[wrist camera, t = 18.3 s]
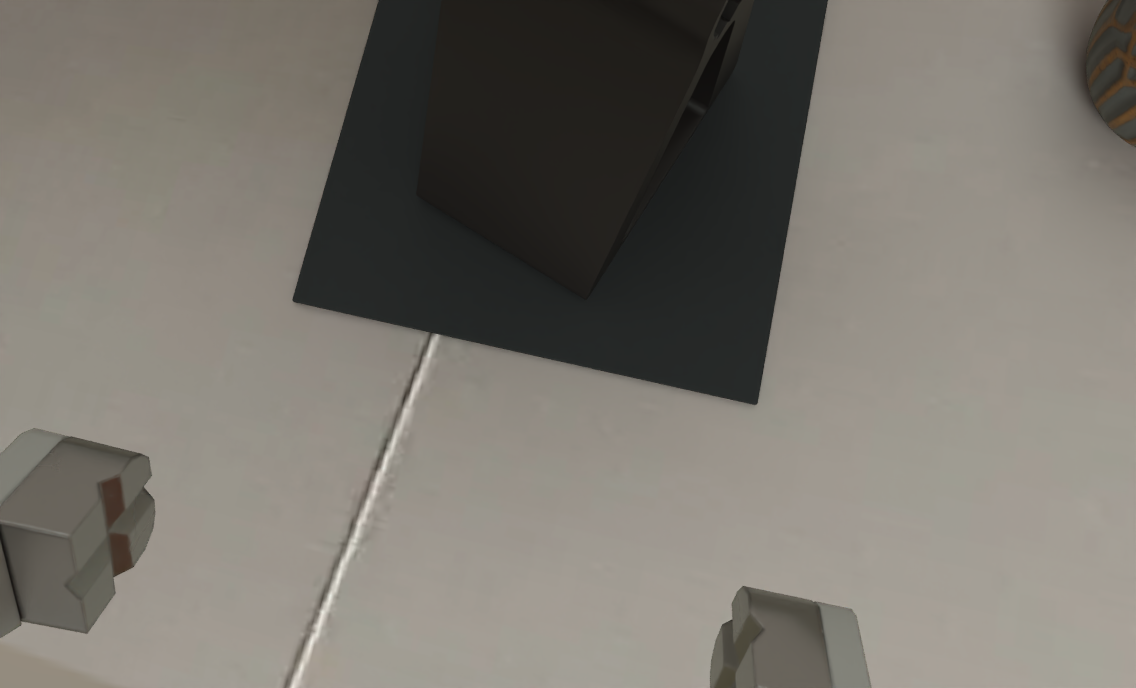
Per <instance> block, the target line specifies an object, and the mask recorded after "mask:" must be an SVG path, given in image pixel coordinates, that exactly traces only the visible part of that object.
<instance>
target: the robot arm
mask: <svg viewBox="0 0 1136 688" xmlns="http://www.w3.org/2000/svg"><path fill="white" fill-rule="evenodd" d="M151 476H152V473H151V467H150V461H149V457H147V456H145V455H143V454H140V453H136V452H132V451H128V450H124V449H120V448H116V447H112V446H108V445H104V444H100V443H96V442H92V441H88V440H84V439H80V438H75V437H69V436H65V435H61V434H57V433H53V432H49V431H45V430H40V429H36V428H33V429H31V430H28V431H26V432H24V433H22V434H20V435H19V436H18V437H17V438H16V439H15V440H14V441H13V442H12V443H11V444H10V445H9V446H8V447H7V448H6V449H5V450H4V451H3V452H2V453H1V454H0V638H1V637H3V636H5V635H6V634H8V633H10V632H11V631H13V630H14V629H16V628H18V627H19V626H21V621H23V622H28V623H33V624H38V625H44V626H49V627H54V628H60V629H65V630H70V631H75V632H81V633H86V634H87V633H88V632H89V631H90V629H91V628H92V626H93V625H94V623H95V622H96V621H97V619H98V618H99V616H100V615H101V613H102V612H103V611H104V609H105V608H106V606H107V605H108V603H109V602H110V600H111V599H112V598H113V596H114V595H115V585H114V578H113V577H115V576H117V575H119V574H121V573H123V572H125V571H127V570H129V569H131V568H133V567H134V566H135V564H136V563H137V561H138V560H139V558H140V557H141V555H142V554H143V552H144V551H145V549H146V546H147V543H148V541H149V538H150V536H151V533H152V531H153V527H154V520H155V502H154V499H153V497H152V496H151V495H150V494H149V493H148V492H147V490H146V489H145V488H144V485H145V484H146V483H147V481H148V480H149V479H150V477H151ZM710 688H872V687H871V683H870V678H869V673H868V668H867V664H866V659H865V654H864V649H863V645H862V640H861V635H860V630H859V626H858V621H857V616H856V615H855V613H854V612H853V610H852V609H849V608H844V607H839V606H835V605H830V604H825V603H821V602H813V601H812V600H808V599H803V598H798V597H793V596H789V595H784V594H779V593H774V592H770V591H765V590H760V589H755V588H750V587H746V586H742V587H741V588H740V589H739V590H738V591H737V594H736V596H735V598H734V600H733V602H732V620H730V621H728V622H726V623H724V624H722V626H721V629H720V631H719V634H718V636H717V638H716V641H715V645H714V650H713V654H712V659H711V669H710Z"/></svg>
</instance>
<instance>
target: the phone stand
mask: <svg viewBox="0 0 1136 688" xmlns="http://www.w3.org/2000/svg"><path fill="white" fill-rule="evenodd" d="M753 3H754V0H441V8H440V15H439V23H438V31H437V38H436V46H435V54H434V61H433V69H432V76H431V84H430V92H429V99H428V107H427V115H426V122H425V130H424V138H423V145H422V153H421V161H420V168H419V176H418V184H417V191H416V195H417V196H418V197H420V198H421V199H423V200H425V201H426V202H428V203H429V204H431V205H433V206H434V207H436V208H437V209H439V210H441V211H442V212H444V213H446V214H447V215H449V216H450V217H452V218H454V219H455V220H457V221H459V222H460V223H462V224H463V225H465V226H467V227H468V228H470V229H471V230H473V231H475V232H476V233H478V234H480V235H481V236H483V237H484V238H486V239H488V240H489V241H491V242H492V243H494V244H496V245H497V246H499V247H501V248H502V249H504V250H505V251H507V252H509V253H510V254H512V255H514V256H515V257H517V258H518V259H520V260H522V261H523V262H525V263H526V264H528V265H530V266H531V267H533V268H535V269H536V270H538V271H539V272H541V273H543V274H544V275H546V276H548V277H549V278H551V279H552V280H554V281H556V282H557V283H559V284H560V285H562V286H564V287H565V288H567V289H569V290H570V291H572V292H573V293H575V294H577V295H578V296H580V297H581V298H583V299H585V300H587V298H588V297H589V296H590V294H591V293H592V291H593V289H594V288H595V286H596V285H597V283H598V282H599V280H600V278H601V277H602V275H603V274H604V272H605V271H606V269H607V268H608V266H609V264H610V263H611V261H612V260H613V258H614V257H615V255H616V254H617V252H618V250H619V249H620V247H621V246H622V244H623V243H624V241H625V239H626V238H627V236H628V235H629V233H630V232H631V230H632V229H633V227H634V225H635V224H636V222H637V221H638V219H639V218H640V216H641V214H642V213H643V211H644V210H645V208H646V207H647V205H648V204H649V202H650V200H651V199H652V197H653V196H654V194H655V193H656V191H657V189H658V188H659V186H660V184H661V182H662V181H663V179H665V177H666V175H667V174H668V172H669V171H670V169H671V168H672V166H673V164H674V163H675V161H676V160H677V158H678V157H679V155H680V154H681V152H682V150H683V149H684V147H685V146H686V144H687V143H688V141H689V140H690V138H691V136H692V135H693V133H694V132H695V130H696V129H697V127H698V125H699V124H700V122H701V121H702V119H703V118H704V116H705V115H706V113H707V111H708V110H709V108H710V107H711V105H712V104H713V102H714V100H715V99H716V97H717V96H718V94H719V93H720V91H721V90H722V88H723V86H724V85H725V83H726V82H727V80H728V79H729V77H730V75H731V74H732V72H733V70H734V68H735V66H736V64H737V61H738V57H739V54H740V50H741V46H742V43H743V39H744V35H745V32H746V28H747V25H748V21H749V17H750V14H751V10H752V7H753Z"/></svg>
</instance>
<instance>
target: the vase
mask: <svg viewBox="0 0 1136 688" xmlns="http://www.w3.org/2000/svg"><path fill="white" fill-rule="evenodd" d="M1086 73H1087V82H1088V87H1089V91H1090V94H1091V97H1092V100H1093V102H1094V104H1095V106H1096V108H1097V110H1098V112H1099V114H1100V115H1101V117H1102V118H1103V119H1104V121H1105V122H1106V123H1107V125H1108V126H1109V127H1110V128H1111V129H1112V130H1113V131H1114V132H1115V133H1116V134H1117V135H1118V136H1120V137H1121V138H1122V139H1123V140H1125V141H1126V142H1127V143H1129V144H1131V145H1132V146H1134V147H1136V0H1107V1H1106V3H1105V5H1104V7H1103V8H1102V10H1101V12H1100V14H1099V16H1098V18H1097V20H1096V23H1095V25H1094V28H1093V31H1092V34H1091V37H1090V40H1089V43H1088V48H1087V56H1086Z"/></svg>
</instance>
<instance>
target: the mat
mask: <svg viewBox="0 0 1136 688" xmlns="http://www.w3.org/2000/svg"><path fill="white" fill-rule="evenodd" d="M827 1H828V0H754V3H753V7H752V10H751V14H750V17H749V21H748V25H747V28H746V32H745V35H744V39H743V43H742V46H741V50H740V54H739V57H738V61H737V64H736V66H735V68H734V70H733V72H732V74H731V75H730V77H729V79H728V80H727V82H726V83H725V85H724V86H723V88H722V90H721V91H720V93H719V94H718V96H717V97H716V99H715V100H714V102H713V104H712V105H711V107H710V108H709V110H708V111H707V113H706V115H705V116H704V118H703V119H702V121H701V122H700V124H699V125H698V127H697V129H696V130H695V132H694V133H693V135H692V136H691V138H690V140H689V141H688V143H687V144H686V146H685V147H684V149H683V150H682V152H681V154H680V155H679V157H678V158H677V160H676V161H675V163H674V164H673V166H672V168H671V169H670V171H669V172H668V174H667V175H666V177H665V179H663V181H662V182H661V184H660V186H659V188H658V189H657V191H656V193H655V194H654V196H653V197H652V199H651V200H650V202H649V204H648V205H647V207H646V208H645V210H644V211H643V213H642V214H641V216H640V218H639V219H638V221H637V222H636V224H635V225H634V227H633V229H632V230H631V232H630V233H629V235H628V236H627V238H626V239H625V241H624V243H623V244H622V246H621V247H620V249H619V250H618V252H617V254H616V255H615V257H614V258H613V260H612V261H611V263H610V264H609V266H608V268H607V269H606V271H605V272H604V274H603V275H602V277H601V278H600V280H599V282H598V283H597V285H596V286H595V288H594V289H593V291H592V293H591V294H590V296H589V297H588V298H587V300H585V299H583V298H581V297H580V296H578V295H577V294H575V293H573V292H572V291H570V290H569V289H567V288H565V287H564V286H562V285H560V284H559V283H557V282H556V281H554V280H552V279H551V278H549V277H548V276H546V275H544V274H543V273H541V272H539V271H538V270H536V269H535V268H533V267H531V266H530V265H528V264H526V263H525V262H523V261H522V260H520V259H518V258H517V257H515V256H514V255H512V254H510V253H509V252H507V251H505V250H504V249H502V248H501V247H499V246H497V245H496V244H494V243H492V242H491V241H489V240H488V239H486V238H484V237H483V236H481V235H480V234H478V233H476V232H475V231H473V230H471V229H470V228H468V227H467V226H465V225H463V224H462V223H460V222H459V221H457V220H455V219H454V218H452V217H450V216H449V215H447V214H446V213H444V212H442V211H441V210H439V209H437V208H436V207H434V206H433V205H431V204H429V203H428V202H426V201H425V200H423V199H421V198H420V197H418V196H417V195H416V191H417V184H418V176H419V168H420V161H421V153H422V145H423V138H424V130H425V122H426V115H427V107H428V99H429V92H430V84H431V76H432V69H433V61H434V54H435V46H436V38H437V31H438V23H439V15H440V8H441V0H379V2H378V5H377V9H376V12H375V16H374V19H373V23H372V26H371V29H370V33H369V36H368V40H367V43H366V47H365V50H364V54H363V57H362V61H361V64H360V68H359V71H358V74H357V78H356V81H355V85H354V88H353V92H352V95H351V99H350V102H349V106H348V109H347V113H346V116H345V120H344V123H343V126H342V130H341V133H340V137H339V140H338V144H337V147H336V151H335V154H334V158H333V161H332V165H331V168H330V171H329V175H328V178H327V182H326V185H325V189H324V192H323V196H322V199H321V203H320V206H319V210H318V213H317V216H316V220H315V223H314V227H313V230H312V234H311V237H310V241H309V244H308V248H307V251H306V255H305V258H304V262H303V265H302V268H301V272H300V275H299V279H298V282H297V286H296V289H295V293H294V296H293V301H294V302H297V303H301V304H306V305H310V306H315V307H319V308H324V309H328V310H333V311H337V312H342V313H346V314H351V315H355V316H359V317H364V318H368V319H373V320H377V321H382V322H386V323H391V324H395V325H400V326H404V327H409V328H413V329H418V330H422V331H427V332H431V333H436V334H440V335H445V336H449V337H454V338H458V339H463V340H467V341H471V342H476V343H480V344H485V345H489V346H494V347H498V348H503V349H507V350H512V351H516V352H521V353H525V354H530V355H534V356H539V357H543V358H548V359H552V360H557V361H561V362H566V363H570V364H575V365H579V366H583V367H588V368H592V369H597V370H601V371H606V372H610V373H615V374H619V375H624V376H628V377H633V378H637V379H642V380H646V381H651V382H655V383H660V384H664V385H669V386H673V387H678V388H682V389H687V390H691V391H695V392H700V393H704V394H709V395H713V396H718V397H722V398H727V399H731V400H736V401H740V402H745V403H749V404H754V405H756V404H757V403H758V397H759V391H760V386H761V380H762V374H763V368H764V363H765V357H766V351H767V345H768V340H769V334H770V328H771V322H772V317H773V311H774V305H775V300H776V294H777V288H778V282H779V277H780V271H781V265H782V259H783V254H784V248H785V242H786V237H787V231H788V225H789V219H790V214H791V208H792V202H793V196H794V191H795V185H796V179H797V173H798V168H799V162H800V156H801V151H802V145H803V139H804V133H805V128H806V122H807V116H808V110H809V105H810V99H811V93H812V87H813V82H814V76H815V70H816V65H817V59H818V53H819V47H820V42H821V36H822V30H823V24H824V19H825V13H826V7H827Z"/></svg>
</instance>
